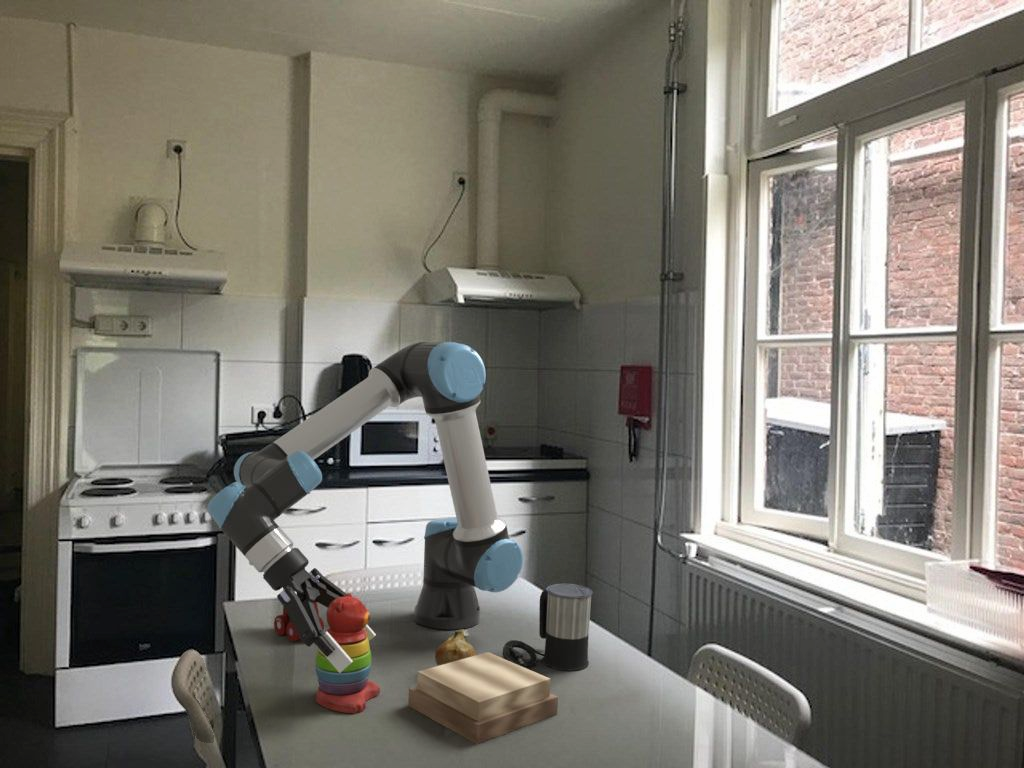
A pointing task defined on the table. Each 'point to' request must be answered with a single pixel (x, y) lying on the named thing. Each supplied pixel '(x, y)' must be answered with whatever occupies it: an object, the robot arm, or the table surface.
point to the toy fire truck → (290, 625)
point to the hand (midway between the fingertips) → (359, 653)
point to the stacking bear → (348, 632)
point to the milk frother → (559, 629)
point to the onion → (454, 648)
